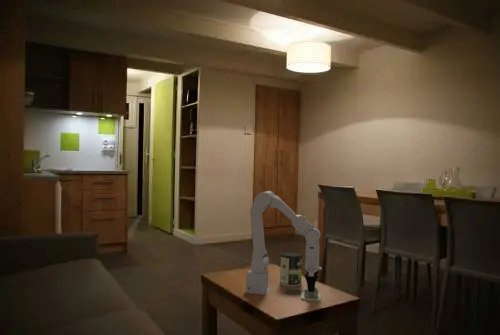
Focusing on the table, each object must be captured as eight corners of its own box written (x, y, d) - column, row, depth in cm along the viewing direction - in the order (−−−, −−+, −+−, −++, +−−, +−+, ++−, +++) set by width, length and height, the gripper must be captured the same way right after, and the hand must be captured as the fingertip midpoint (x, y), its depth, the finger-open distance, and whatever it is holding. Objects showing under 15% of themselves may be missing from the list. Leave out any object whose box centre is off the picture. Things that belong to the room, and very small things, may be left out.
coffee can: (303, 282, 183) (304, 252, 183) (298, 288, 174) (299, 257, 174) (283, 279, 187) (284, 250, 187) (276, 284, 178) (277, 254, 178)
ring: (304, 297, 158) (304, 290, 158) (304, 293, 164) (304, 286, 164) (317, 298, 157) (317, 291, 157) (318, 294, 163) (318, 287, 163)
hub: (300, 300, 158) (301, 291, 158) (302, 294, 165) (302, 286, 165) (320, 302, 156) (320, 293, 156) (320, 296, 164) (321, 287, 164)
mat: (284, 294, 165) (284, 293, 165) (286, 289, 171) (286, 288, 171) (300, 295, 163) (300, 295, 163) (301, 290, 170) (301, 290, 170)
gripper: (321, 261, 153) (320, 295, 153) (322, 253, 167) (321, 284, 167) (303, 260, 154) (302, 293, 154) (306, 252, 168) (305, 283, 168)
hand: (311, 288), depth 161 cm, fingers open, 7 cm apart
